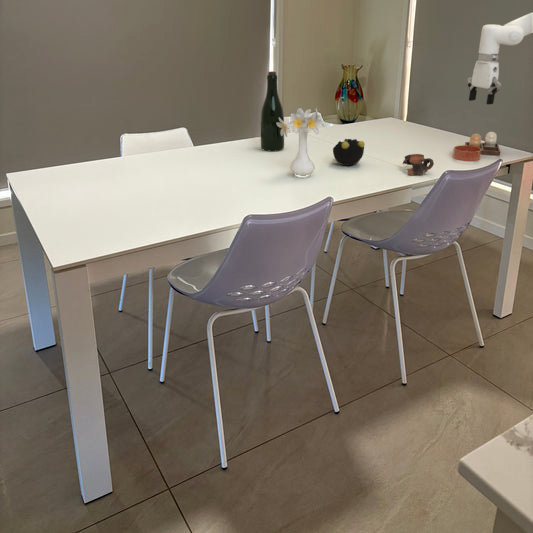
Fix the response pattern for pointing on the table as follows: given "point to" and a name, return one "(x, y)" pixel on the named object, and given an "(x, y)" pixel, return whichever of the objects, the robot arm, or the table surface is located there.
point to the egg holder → (488, 149)
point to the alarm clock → (348, 151)
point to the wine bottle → (271, 117)
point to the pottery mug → (418, 164)
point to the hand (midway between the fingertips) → (480, 102)
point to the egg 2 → (490, 139)
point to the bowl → (467, 153)
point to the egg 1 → (475, 140)
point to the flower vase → (302, 139)
